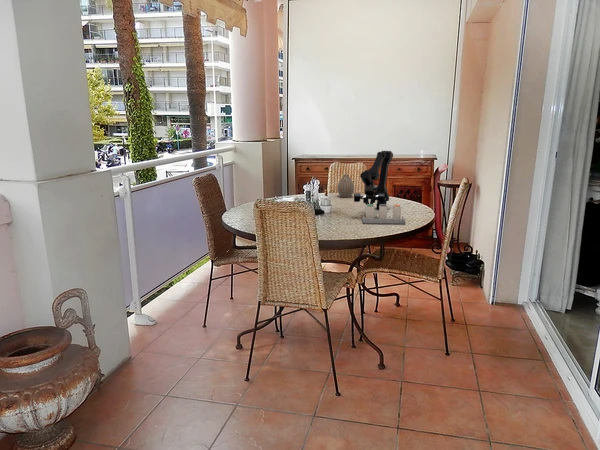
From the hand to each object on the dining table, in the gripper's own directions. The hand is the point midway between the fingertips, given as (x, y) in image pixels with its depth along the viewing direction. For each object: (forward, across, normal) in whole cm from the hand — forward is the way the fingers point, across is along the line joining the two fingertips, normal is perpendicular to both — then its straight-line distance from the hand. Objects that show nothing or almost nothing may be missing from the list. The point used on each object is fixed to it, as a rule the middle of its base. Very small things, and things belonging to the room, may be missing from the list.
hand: (369, 209), depth 263 cm
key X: (+6, +8, +4) cm, 11 cm away
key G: (+7, 0, +3) cm, 7 cm away
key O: (+6, +16, +4) cm, 18 cm away
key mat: (+7, +8, +2) cm, 11 cm away
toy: (-4, -44, +15) cm, 47 cm away
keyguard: (+8, +8, +1) cm, 11 cm away
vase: (-51, -15, +61) cm, 81 cm away
